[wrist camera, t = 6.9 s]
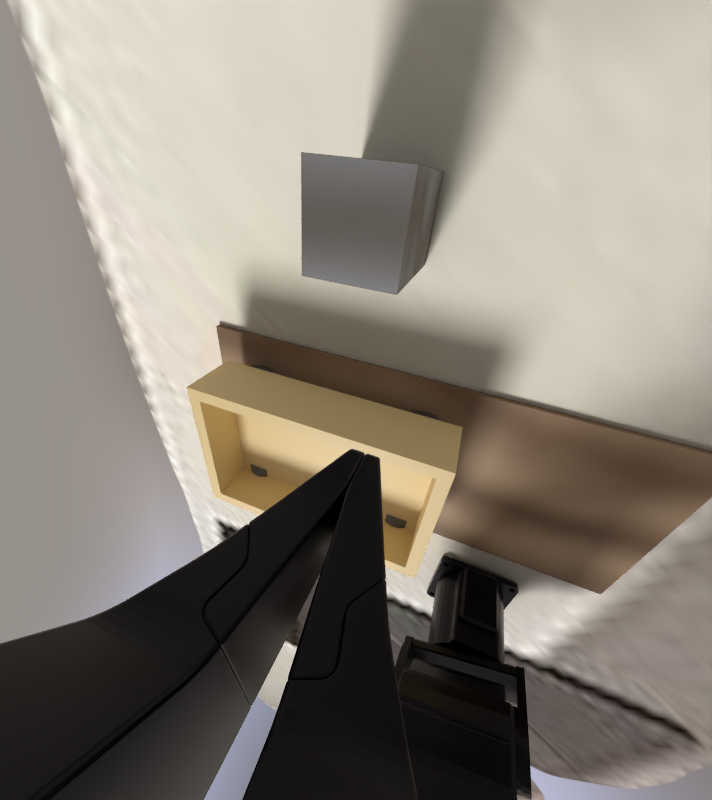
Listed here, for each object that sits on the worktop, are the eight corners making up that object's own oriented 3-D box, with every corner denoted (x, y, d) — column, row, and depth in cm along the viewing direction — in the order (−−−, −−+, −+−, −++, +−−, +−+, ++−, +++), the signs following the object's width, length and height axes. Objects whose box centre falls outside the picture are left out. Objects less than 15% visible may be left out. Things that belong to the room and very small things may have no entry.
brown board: (599, 590, 24) (600, 594, 24) (240, 458, 32) (238, 460, 32) (744, 460, 16) (748, 464, 16) (219, 324, 24) (216, 326, 24)
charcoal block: (424, 264, 17) (396, 294, 12) (353, 252, 18) (301, 275, 13) (443, 171, 15) (418, 164, 10) (360, 163, 16) (301, 152, 11)
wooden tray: (427, 518, 26) (414, 578, 22) (251, 455, 30) (214, 496, 26) (463, 416, 20) (455, 473, 16) (238, 354, 24) (186, 387, 20)
